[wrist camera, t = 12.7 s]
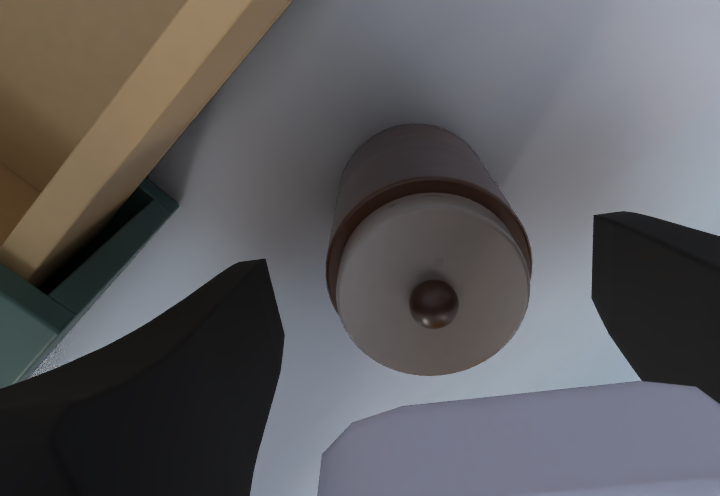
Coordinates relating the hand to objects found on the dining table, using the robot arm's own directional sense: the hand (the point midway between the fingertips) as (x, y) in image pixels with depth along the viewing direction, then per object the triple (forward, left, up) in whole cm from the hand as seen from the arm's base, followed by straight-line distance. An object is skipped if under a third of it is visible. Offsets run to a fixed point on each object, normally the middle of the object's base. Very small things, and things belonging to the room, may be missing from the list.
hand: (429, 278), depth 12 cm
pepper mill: (0, 0, -5) cm, 5 cm away
